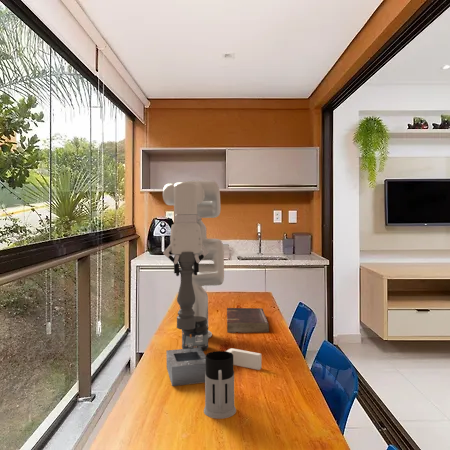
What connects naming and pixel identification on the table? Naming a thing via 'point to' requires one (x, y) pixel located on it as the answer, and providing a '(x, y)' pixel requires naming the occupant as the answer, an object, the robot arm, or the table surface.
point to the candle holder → (186, 292)
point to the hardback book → (246, 320)
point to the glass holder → (219, 385)
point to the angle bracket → (246, 358)
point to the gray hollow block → (186, 366)
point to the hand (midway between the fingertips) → (186, 274)
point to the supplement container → (196, 335)
